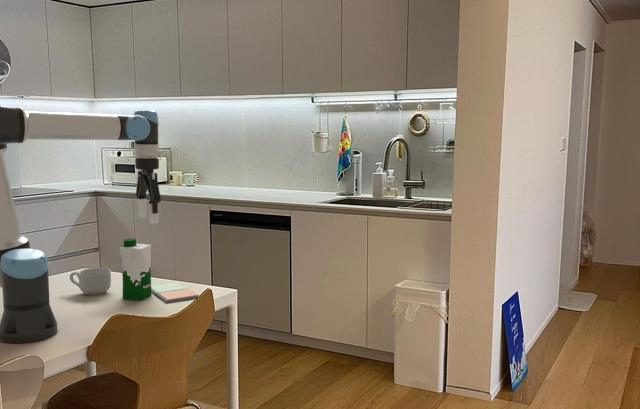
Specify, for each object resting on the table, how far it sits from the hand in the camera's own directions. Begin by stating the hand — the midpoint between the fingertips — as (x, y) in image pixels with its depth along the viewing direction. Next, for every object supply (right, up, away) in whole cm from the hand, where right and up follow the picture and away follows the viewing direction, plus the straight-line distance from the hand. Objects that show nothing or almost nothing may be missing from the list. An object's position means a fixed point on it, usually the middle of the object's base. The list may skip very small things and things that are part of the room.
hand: (148, 220), depth 203 cm
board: (+6, -26, +9) cm, 28 cm away
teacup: (-23, -26, +9) cm, 36 cm away
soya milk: (-5, -27, +4) cm, 27 cm away
